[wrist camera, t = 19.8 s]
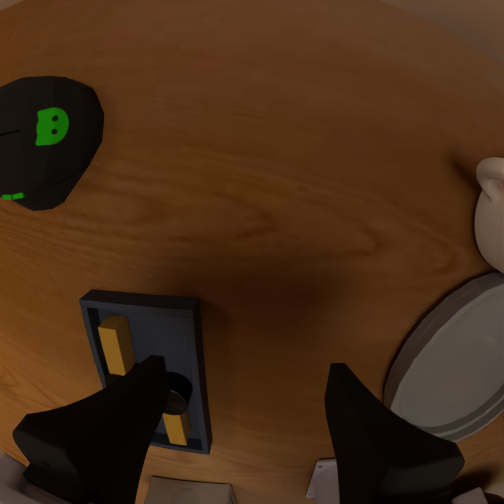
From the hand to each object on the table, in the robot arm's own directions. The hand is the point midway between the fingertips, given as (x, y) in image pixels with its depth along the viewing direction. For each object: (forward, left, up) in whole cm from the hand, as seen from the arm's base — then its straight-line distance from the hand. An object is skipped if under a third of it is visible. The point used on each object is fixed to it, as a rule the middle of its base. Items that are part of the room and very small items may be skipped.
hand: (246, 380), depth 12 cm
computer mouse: (+12, +19, -10) cm, 25 cm away
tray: (-9, +9, -9) cm, 15 cm away
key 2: (-6, +11, -9) cm, 15 cm away
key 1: (-11, +7, -9) cm, 16 cm away
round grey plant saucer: (-8, -21, -9) cm, 24 cm away
